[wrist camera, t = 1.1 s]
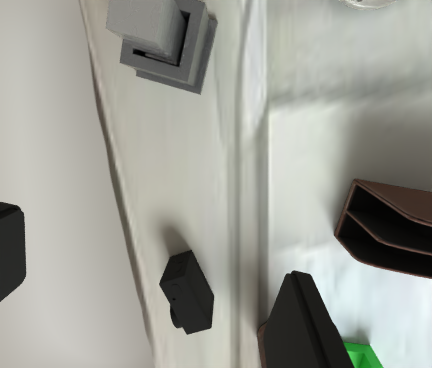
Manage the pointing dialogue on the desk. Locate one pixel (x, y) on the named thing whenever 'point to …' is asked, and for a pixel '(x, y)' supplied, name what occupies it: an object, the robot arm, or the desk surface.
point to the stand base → (191, 57)
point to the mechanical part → (362, 356)
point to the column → (150, 27)
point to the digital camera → (187, 293)
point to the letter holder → (388, 227)
